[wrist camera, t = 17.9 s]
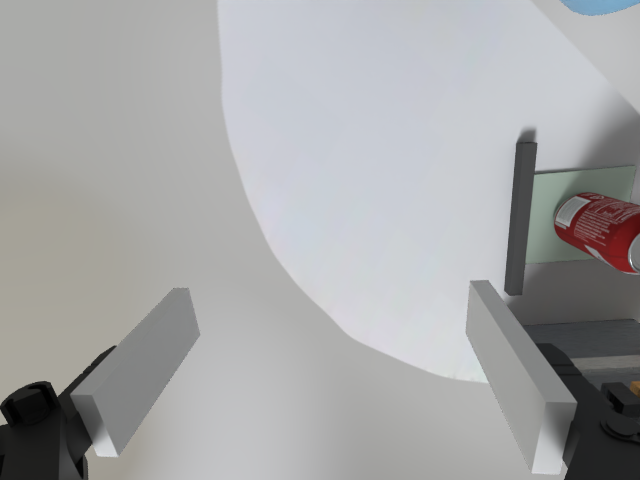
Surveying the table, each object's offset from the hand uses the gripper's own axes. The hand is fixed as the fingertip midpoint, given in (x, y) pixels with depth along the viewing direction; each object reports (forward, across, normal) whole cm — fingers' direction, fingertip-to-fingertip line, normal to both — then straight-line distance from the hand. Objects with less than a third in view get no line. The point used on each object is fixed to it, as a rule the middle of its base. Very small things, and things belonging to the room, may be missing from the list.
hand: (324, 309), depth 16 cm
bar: (+31, +22, -8) cm, 39 cm away
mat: (+32, +29, -7) cm, 44 cm away
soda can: (+32, +29, -7) cm, 44 cm away
